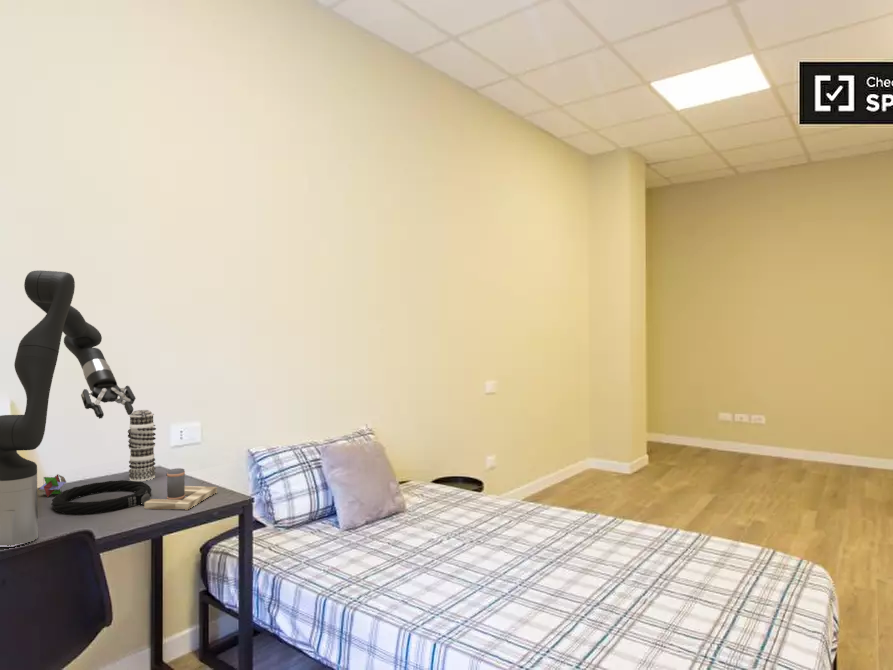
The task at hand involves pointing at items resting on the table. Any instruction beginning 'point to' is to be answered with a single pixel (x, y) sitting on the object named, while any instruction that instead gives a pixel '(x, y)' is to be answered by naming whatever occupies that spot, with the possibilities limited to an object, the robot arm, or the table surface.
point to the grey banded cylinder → (175, 484)
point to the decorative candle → (141, 446)
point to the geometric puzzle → (53, 485)
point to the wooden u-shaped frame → (194, 497)
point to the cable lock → (67, 507)
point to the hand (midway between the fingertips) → (116, 415)
